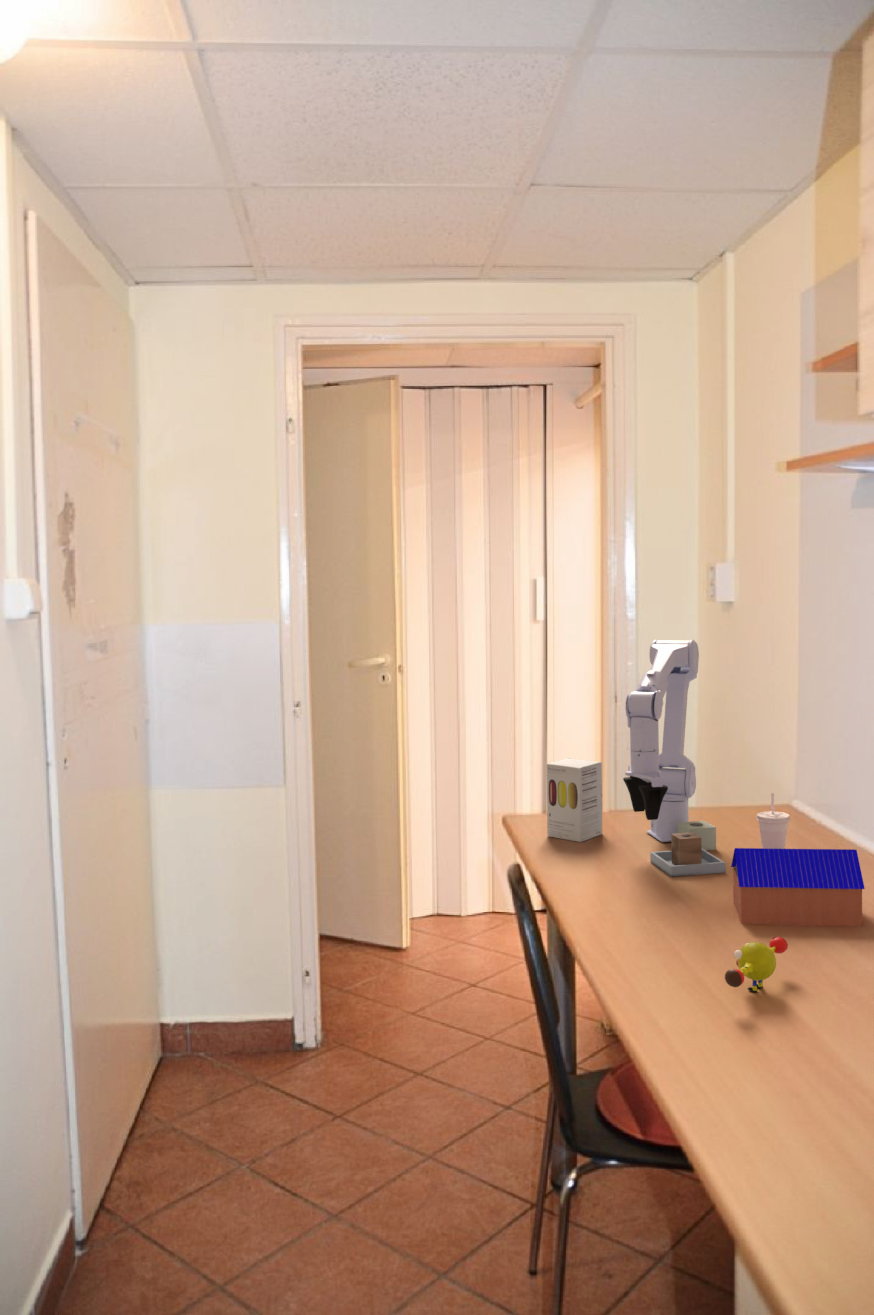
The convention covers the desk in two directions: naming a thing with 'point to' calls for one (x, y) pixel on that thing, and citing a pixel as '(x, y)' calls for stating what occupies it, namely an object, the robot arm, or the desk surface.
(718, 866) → the tray
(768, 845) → the smoothie
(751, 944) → the toy figure
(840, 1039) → the desk surface
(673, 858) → the block
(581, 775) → the supplement box
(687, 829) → the oversize block
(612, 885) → the desk surface
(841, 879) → the house
